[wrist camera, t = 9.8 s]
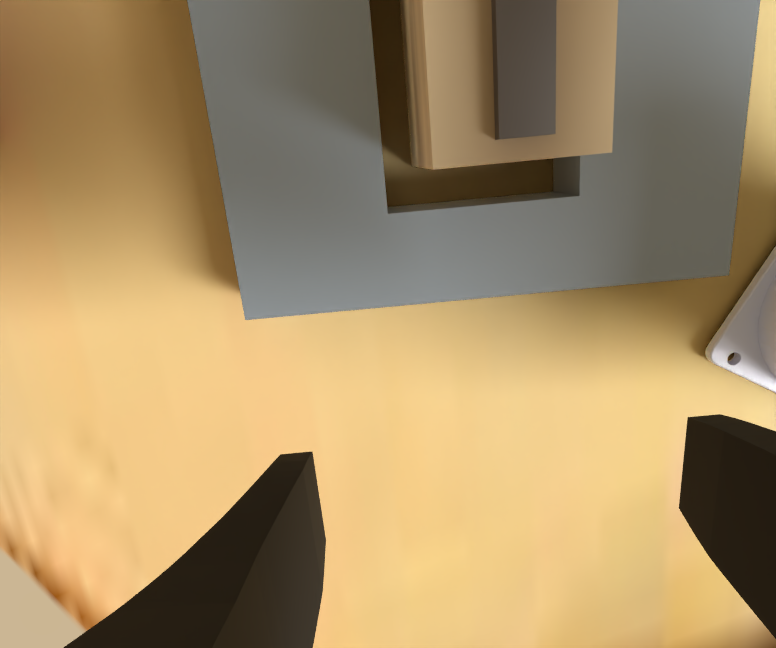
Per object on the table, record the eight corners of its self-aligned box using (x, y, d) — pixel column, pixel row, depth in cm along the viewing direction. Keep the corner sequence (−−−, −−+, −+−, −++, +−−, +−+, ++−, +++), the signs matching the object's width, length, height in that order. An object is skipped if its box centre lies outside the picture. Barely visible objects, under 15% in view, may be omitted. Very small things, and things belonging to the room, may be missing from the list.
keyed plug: (522, -44, 16) (635, -198, 9) (524, 155, 18) (620, 152, 11) (396, -31, 16) (414, -177, 9) (411, 166, 18) (435, 170, 11)
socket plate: (726, -210, 15) (792, -280, 13) (685, 261, 19) (729, 275, 17) (183, -157, 15) (147, -217, 13) (261, 300, 19) (245, 320, 17)
